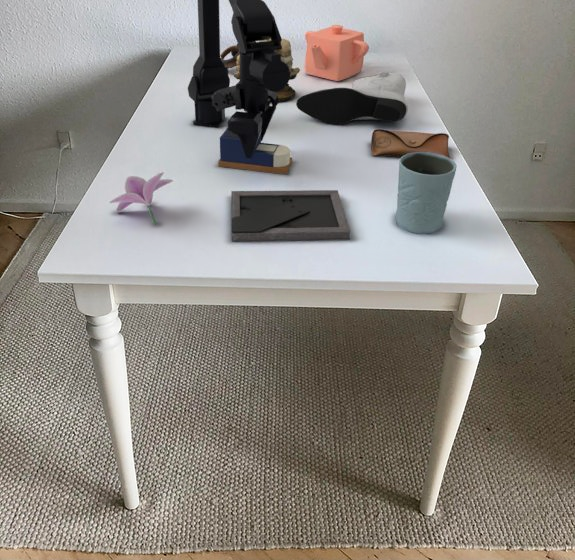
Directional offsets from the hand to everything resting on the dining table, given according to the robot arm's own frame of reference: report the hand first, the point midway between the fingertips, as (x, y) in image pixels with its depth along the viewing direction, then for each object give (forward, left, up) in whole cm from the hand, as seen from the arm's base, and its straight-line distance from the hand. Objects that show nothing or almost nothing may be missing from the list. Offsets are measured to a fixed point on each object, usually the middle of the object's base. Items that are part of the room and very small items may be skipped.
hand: (254, 149), depth 133 cm
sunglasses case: (+33, +16, -4) cm, 37 cm away
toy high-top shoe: (0, 0, -4) cm, 4 cm away
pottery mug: (-22, +64, -4) cm, 68 cm away
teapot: (+6, +67, -4) cm, 67 cm away
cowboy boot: (+17, +40, -4) cm, 44 cm away
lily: (-14, -27, -4) cm, 31 cm away
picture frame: (+12, -21, -4) cm, 24 cm away
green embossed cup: (+36, -16, -4) cm, 39 cm away
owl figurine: (-8, +44, -4) cm, 45 cm away
